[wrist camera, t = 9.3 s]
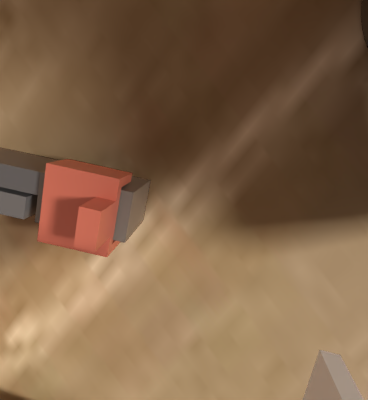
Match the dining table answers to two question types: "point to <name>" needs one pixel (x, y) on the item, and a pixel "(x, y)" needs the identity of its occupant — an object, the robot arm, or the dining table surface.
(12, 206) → the arm
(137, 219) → the tongs base
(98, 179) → the lock tab
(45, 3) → the dining table surface
